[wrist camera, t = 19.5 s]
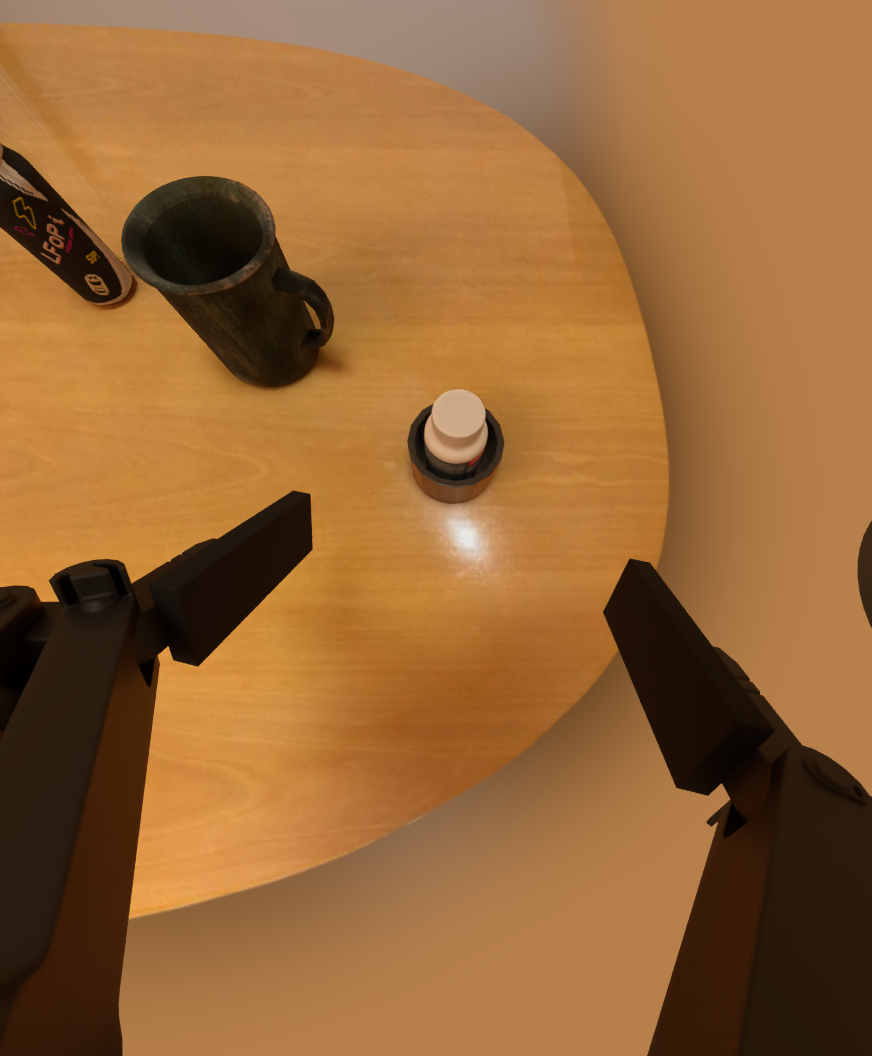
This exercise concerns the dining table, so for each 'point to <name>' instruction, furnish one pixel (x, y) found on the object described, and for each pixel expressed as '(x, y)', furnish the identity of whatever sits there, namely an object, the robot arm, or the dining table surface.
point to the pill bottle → (455, 435)
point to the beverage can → (57, 233)
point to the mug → (228, 277)
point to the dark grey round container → (448, 488)
